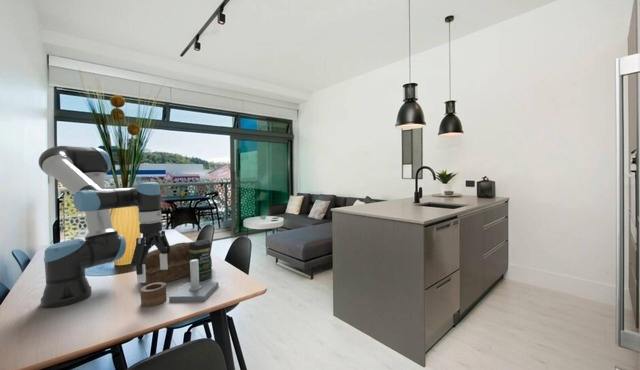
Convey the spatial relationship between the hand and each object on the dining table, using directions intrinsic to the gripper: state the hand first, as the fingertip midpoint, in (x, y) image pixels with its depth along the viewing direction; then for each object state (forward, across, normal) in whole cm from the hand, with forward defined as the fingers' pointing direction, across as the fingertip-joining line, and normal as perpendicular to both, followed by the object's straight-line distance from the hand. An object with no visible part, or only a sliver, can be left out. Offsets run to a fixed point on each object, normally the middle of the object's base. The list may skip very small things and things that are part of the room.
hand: (153, 275), depth 105 cm
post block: (+11, +7, -12) cm, 18 cm away
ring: (+11, 0, 0) cm, 11 cm away
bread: (+11, +29, +7) cm, 32 cm away
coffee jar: (+11, +23, -8) cm, 27 cm away
